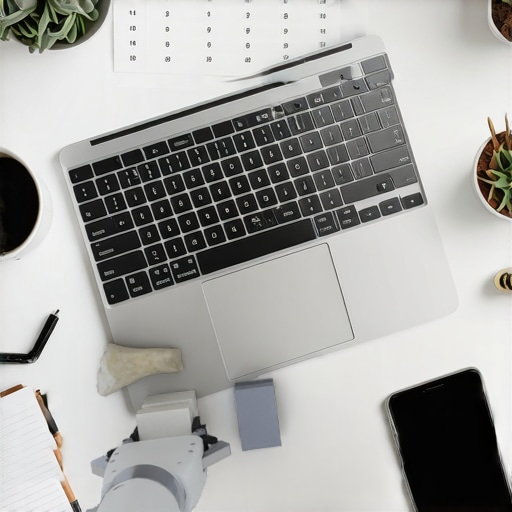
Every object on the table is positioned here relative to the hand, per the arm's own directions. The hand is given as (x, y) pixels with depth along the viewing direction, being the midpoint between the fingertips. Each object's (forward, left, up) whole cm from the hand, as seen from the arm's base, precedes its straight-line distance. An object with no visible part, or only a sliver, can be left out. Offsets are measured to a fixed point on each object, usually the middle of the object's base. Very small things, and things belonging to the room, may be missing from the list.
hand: (170, 431), depth 70 cm
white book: (0, 0, +1) cm, 1 cm away
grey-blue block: (0, -11, -4) cm, 12 cm away
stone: (+8, +3, -4) cm, 10 cm away
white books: (0, 0, -4) cm, 4 cm away
